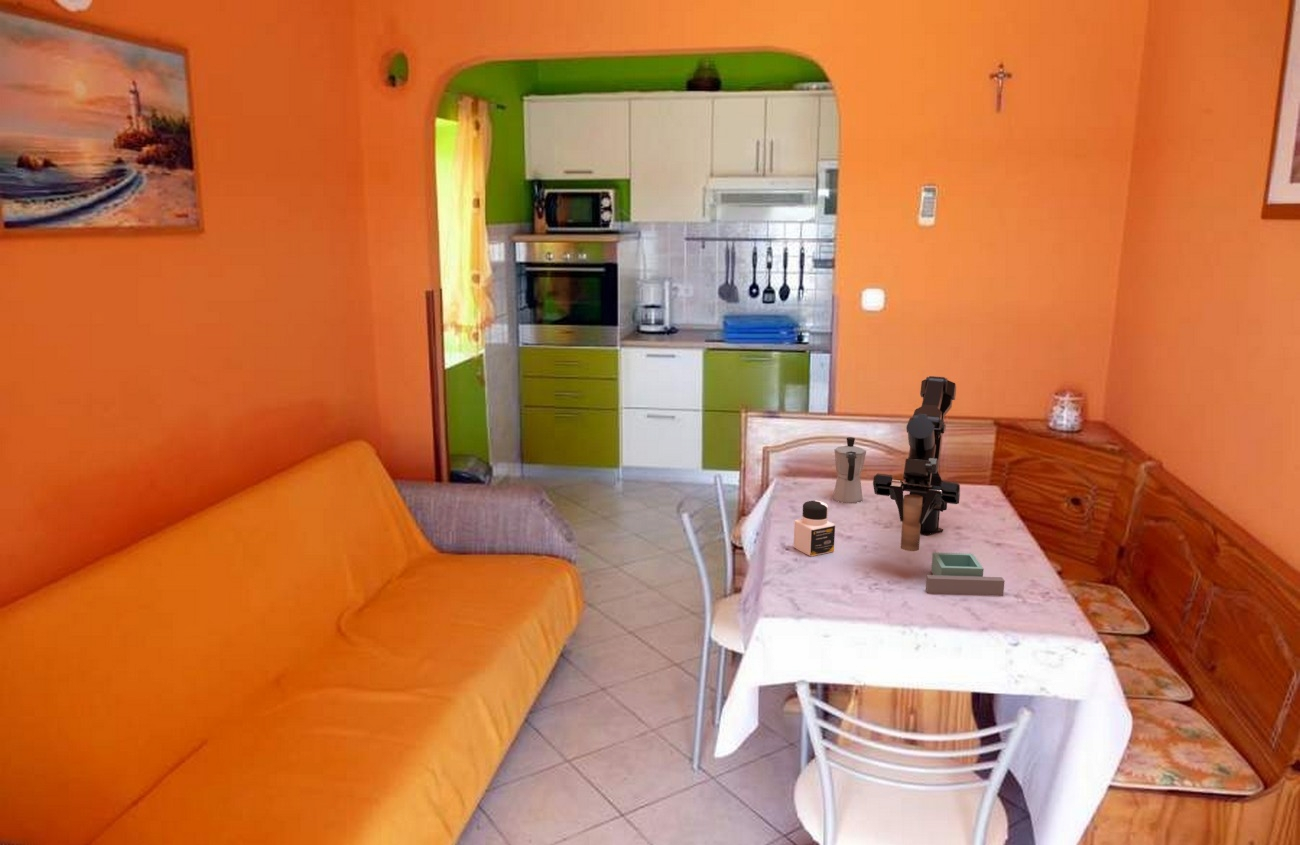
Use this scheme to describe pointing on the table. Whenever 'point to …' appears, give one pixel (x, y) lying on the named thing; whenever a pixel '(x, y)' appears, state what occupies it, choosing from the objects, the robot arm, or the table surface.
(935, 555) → the socket block
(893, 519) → the table surface
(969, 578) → the backstop wall
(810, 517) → the medicine bottle
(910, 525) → the dowel
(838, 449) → the coffee maker
